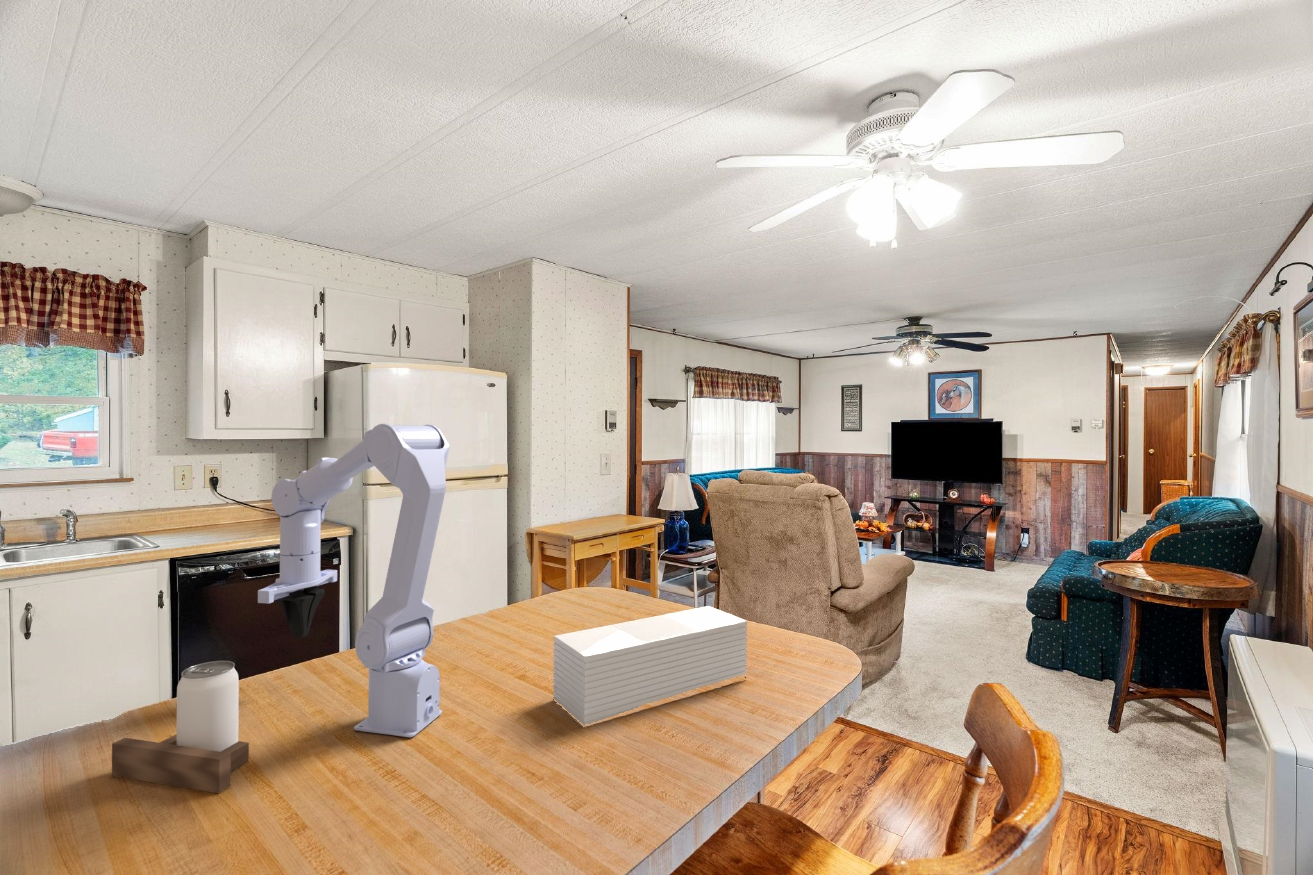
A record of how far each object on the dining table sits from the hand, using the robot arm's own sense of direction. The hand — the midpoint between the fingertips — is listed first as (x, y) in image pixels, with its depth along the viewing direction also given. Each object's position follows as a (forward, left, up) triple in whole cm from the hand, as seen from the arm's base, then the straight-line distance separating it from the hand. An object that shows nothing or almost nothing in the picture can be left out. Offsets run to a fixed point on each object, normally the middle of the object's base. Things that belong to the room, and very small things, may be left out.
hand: (299, 635), depth 100 cm
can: (-4, +20, -10) cm, 23 cm away
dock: (-4, +22, -9) cm, 24 cm away
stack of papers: (-56, -15, -10) cm, 59 cm away
